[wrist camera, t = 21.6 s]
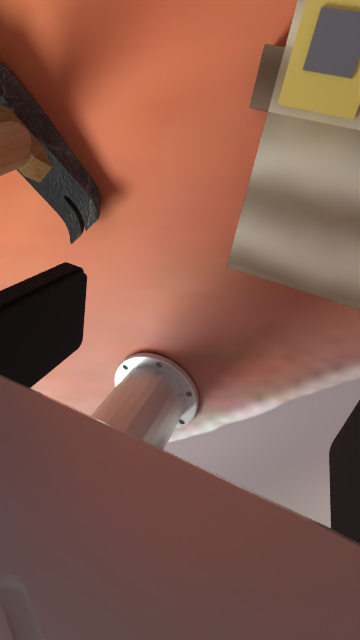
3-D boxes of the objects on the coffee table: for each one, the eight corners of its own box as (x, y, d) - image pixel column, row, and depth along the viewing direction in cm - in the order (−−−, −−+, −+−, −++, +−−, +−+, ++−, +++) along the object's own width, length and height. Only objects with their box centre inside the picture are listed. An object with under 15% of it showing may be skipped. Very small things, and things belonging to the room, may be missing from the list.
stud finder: (352, 119, 24) (353, 119, 22) (282, 106, 26) (276, 103, 23) (394, 9, 21) (403, -8, 19) (313, -1, 22) (310, -19, 20)
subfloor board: (392, 306, 32) (397, 321, 30) (219, 252, 36) (210, 261, 34) (625, -85, 19) (669, -117, 16) (308, -103, 23) (304, -131, 20)
